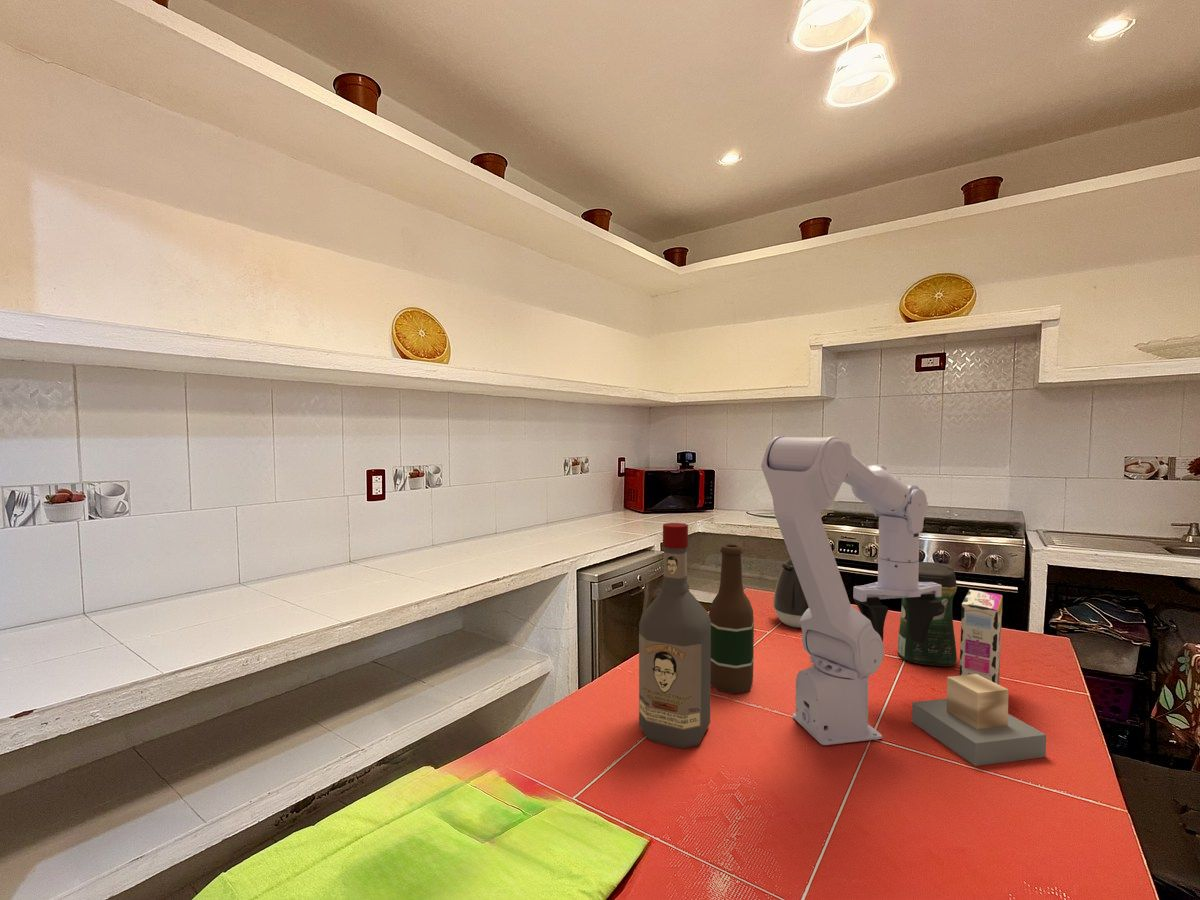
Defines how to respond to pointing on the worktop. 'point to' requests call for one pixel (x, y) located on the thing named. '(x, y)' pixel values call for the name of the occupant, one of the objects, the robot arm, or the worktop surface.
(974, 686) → the birch cube
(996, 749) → the slate pedestal
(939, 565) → the coffee jar
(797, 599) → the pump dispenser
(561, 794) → the worktop surface
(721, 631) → the beer bottle
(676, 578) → the liquor
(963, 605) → the candy bar box
